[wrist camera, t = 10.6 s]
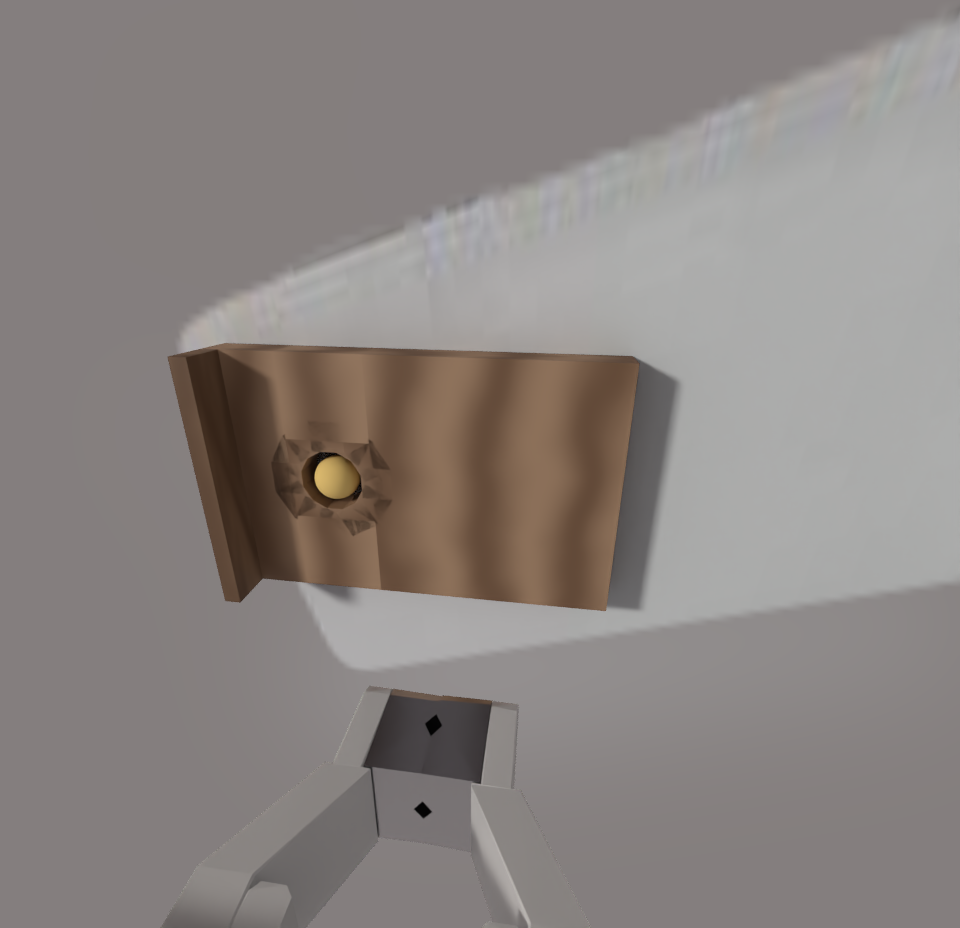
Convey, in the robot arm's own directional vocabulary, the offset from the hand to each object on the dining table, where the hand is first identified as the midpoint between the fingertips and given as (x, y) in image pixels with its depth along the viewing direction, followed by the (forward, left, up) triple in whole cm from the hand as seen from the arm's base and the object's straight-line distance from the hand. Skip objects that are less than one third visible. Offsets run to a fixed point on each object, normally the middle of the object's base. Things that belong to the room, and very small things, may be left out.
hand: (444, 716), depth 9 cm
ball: (+13, +6, -24) cm, 27 cm away
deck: (+7, +6, -25) cm, 27 cm away
